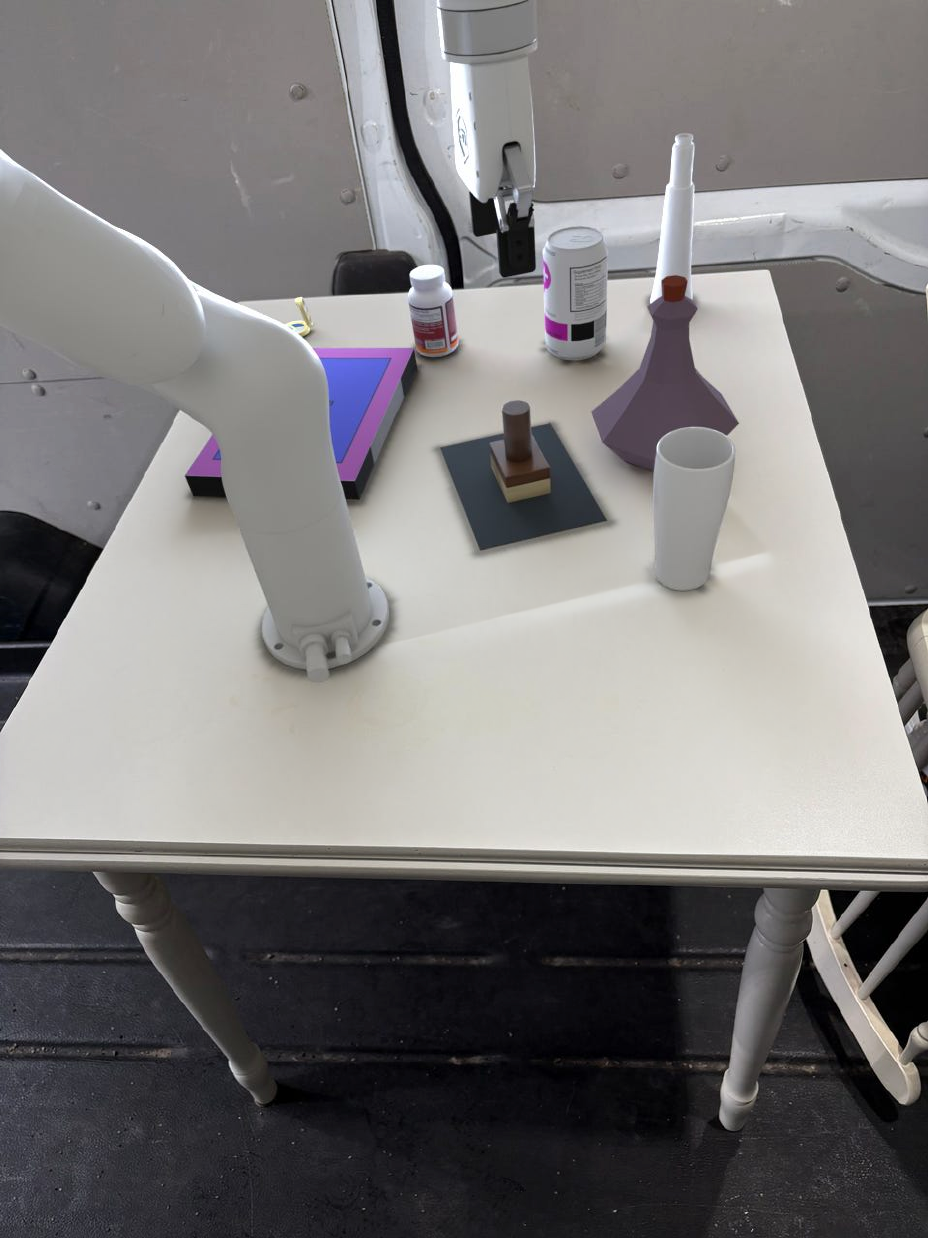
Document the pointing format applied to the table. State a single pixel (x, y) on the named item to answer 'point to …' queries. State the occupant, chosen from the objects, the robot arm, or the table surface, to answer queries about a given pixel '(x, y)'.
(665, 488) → the drinking glass
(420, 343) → the pill bottle
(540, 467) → the brush
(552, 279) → the supplement can
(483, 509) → the mat
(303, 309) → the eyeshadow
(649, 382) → the flask
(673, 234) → the cosmetic bottle
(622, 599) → the table surface
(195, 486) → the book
